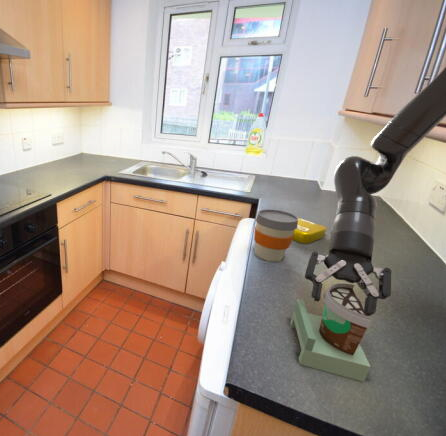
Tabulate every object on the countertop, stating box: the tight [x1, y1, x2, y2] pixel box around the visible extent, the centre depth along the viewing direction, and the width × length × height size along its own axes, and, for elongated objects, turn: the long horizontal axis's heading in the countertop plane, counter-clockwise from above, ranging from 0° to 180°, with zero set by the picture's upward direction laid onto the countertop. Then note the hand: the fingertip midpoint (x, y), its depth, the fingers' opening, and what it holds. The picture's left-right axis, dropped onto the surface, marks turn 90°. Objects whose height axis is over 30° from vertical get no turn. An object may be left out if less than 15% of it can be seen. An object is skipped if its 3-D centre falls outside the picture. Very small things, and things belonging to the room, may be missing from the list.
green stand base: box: [289, 299, 372, 383], centre depth 63 cm, size 11×13×7 cm
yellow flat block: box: [292, 217, 327, 245], centre depth 121 cm, size 15×15×5 cm
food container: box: [319, 283, 373, 355], centre depth 61 cm, size 12×6×10 cm, turn 157°
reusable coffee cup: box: [253, 208, 299, 263], centre depth 101 cm, size 12×13×15 cm
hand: (341, 308), depth 60 cm, fingers open, 8 cm apart
